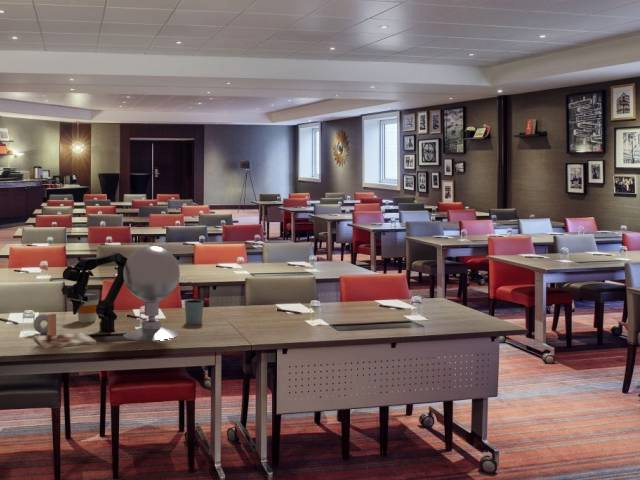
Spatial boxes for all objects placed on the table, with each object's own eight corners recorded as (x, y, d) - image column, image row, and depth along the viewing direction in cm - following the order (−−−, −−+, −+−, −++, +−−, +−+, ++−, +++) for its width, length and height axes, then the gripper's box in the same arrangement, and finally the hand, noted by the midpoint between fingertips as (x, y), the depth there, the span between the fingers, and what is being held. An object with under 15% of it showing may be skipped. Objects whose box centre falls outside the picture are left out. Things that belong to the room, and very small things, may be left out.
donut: (33, 334, 419) (33, 315, 418) (33, 333, 422) (33, 313, 421) (54, 333, 423) (54, 313, 422) (54, 332, 426) (53, 312, 425)
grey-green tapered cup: (205, 321, 463) (205, 299, 462) (200, 325, 453) (201, 303, 452) (187, 320, 464) (187, 299, 463) (182, 324, 454) (182, 302, 453)
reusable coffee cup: (95, 323, 450) (95, 295, 449) (72, 322, 451) (72, 295, 449) (102, 319, 463) (102, 292, 461) (79, 318, 463) (79, 291, 462)
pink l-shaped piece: (68, 339, 403) (68, 316, 402) (58, 341, 399) (58, 317, 398) (54, 336, 410) (53, 312, 409) (44, 337, 406) (43, 314, 405)
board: (83, 334, 422) (83, 326, 422) (96, 343, 404) (96, 334, 403) (34, 338, 410) (34, 330, 410) (44, 348, 391) (44, 339, 391)
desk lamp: (124, 341, 408) (124, 249, 404) (122, 330, 435) (122, 243, 431) (182, 339, 416) (182, 248, 411) (176, 328, 442) (176, 243, 438)
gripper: (71, 281, 427) (64, 312, 425) (59, 278, 409) (52, 310, 407) (93, 286, 427) (85, 316, 425) (82, 283, 408) (74, 314, 406)
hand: (74, 314), depth 416 cm, fingers closed
